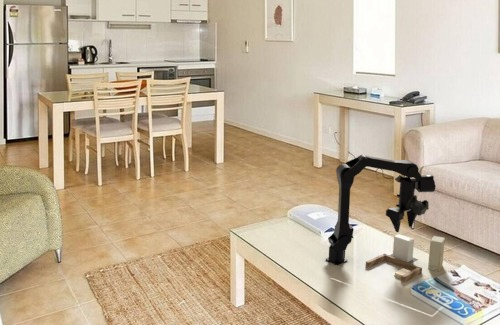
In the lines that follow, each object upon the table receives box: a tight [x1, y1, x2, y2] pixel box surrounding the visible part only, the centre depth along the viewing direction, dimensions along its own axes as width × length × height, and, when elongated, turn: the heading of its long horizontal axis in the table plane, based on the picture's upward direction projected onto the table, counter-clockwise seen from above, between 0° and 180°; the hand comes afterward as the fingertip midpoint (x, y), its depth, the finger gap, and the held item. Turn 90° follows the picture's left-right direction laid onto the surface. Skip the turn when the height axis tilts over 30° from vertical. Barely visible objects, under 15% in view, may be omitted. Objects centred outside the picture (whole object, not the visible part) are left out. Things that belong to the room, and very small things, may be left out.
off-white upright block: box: [392, 233, 415, 262], centre depth 206 cm, size 4×7×9 cm, turn 40°
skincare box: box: [427, 235, 446, 272], centre depth 199 cm, size 6×4×12 cm
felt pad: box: [388, 253, 419, 264], centre depth 208 cm, size 8×10×1 cm
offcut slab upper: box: [394, 267, 411, 279], centre depth 192 cm, size 6×4×1 cm, turn 131°
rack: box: [365, 253, 423, 283], centre depth 197 cm, size 12×17×2 cm
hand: (403, 229), depth 205 cm, fingers open, 9 cm apart
